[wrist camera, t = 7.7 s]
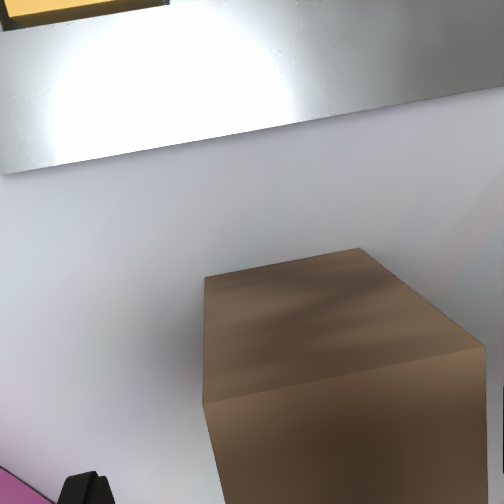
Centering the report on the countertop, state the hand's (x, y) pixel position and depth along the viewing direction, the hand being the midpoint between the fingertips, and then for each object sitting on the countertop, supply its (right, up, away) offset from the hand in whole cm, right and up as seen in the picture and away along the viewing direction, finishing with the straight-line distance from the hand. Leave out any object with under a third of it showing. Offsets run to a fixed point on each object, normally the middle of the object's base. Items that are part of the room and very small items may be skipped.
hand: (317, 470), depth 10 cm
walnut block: (0, +2, +8) cm, 8 cm away
